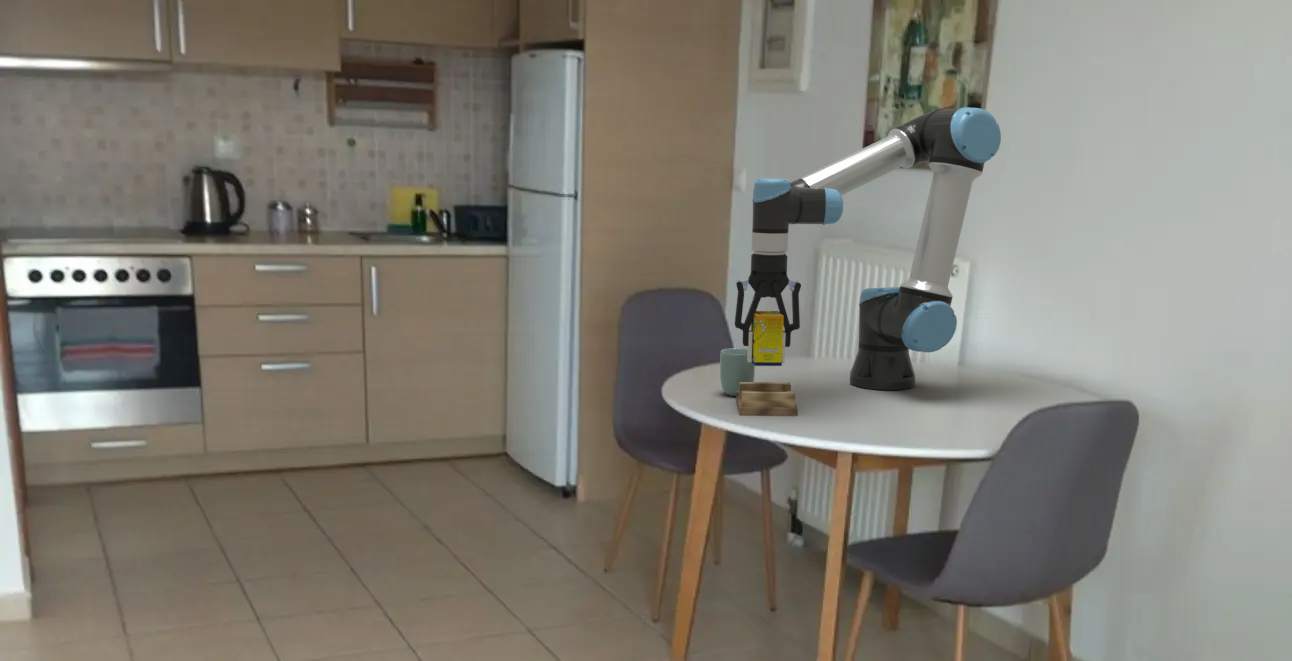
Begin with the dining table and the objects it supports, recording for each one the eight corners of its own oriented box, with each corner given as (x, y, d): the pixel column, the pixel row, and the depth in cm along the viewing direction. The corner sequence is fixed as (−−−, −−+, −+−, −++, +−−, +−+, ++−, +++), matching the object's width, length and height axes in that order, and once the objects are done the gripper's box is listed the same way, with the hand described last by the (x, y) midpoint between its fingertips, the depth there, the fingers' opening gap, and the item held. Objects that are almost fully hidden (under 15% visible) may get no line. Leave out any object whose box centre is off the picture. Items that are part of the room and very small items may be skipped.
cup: (752, 399, 241) (753, 354, 239) (717, 397, 242) (718, 353, 241) (755, 391, 248) (756, 348, 247) (722, 390, 250) (722, 347, 248)
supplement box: (749, 360, 233) (750, 310, 232) (776, 361, 234) (778, 310, 232) (754, 366, 227) (755, 314, 226) (782, 366, 228) (784, 314, 226)
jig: (791, 401, 239) (791, 381, 238) (797, 415, 226) (798, 394, 225) (736, 401, 239) (736, 381, 238) (739, 415, 226) (740, 394, 225)
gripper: (813, 252, 230) (809, 359, 234) (722, 250, 231) (719, 357, 235) (817, 255, 223) (813, 365, 227) (724, 253, 224) (721, 363, 227)
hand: (765, 361), depth 231 cm, fingers closed on supplement box, 6 cm apart
